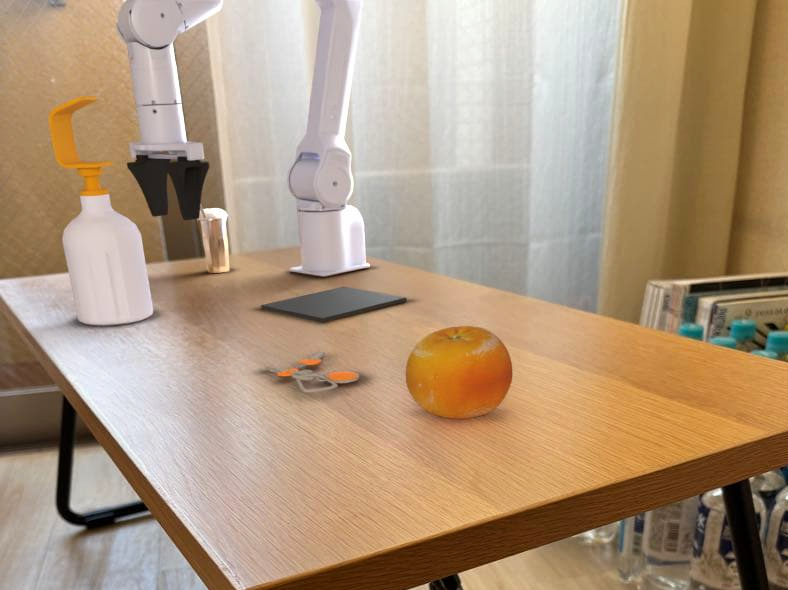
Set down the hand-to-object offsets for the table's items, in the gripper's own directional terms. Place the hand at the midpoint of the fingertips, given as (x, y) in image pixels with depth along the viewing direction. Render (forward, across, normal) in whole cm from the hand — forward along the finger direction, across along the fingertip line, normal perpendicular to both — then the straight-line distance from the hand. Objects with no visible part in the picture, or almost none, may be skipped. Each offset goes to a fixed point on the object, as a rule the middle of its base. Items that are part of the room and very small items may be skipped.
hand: (175, 217), depth 120 cm
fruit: (+10, +64, -15) cm, 66 cm away
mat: (+10, +24, +6) cm, 27 cm away
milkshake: (+10, -9, +12) cm, 18 cm away
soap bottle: (+10, +7, -15) cm, 19 cm away
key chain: (+10, +46, -16) cm, 49 cm away
